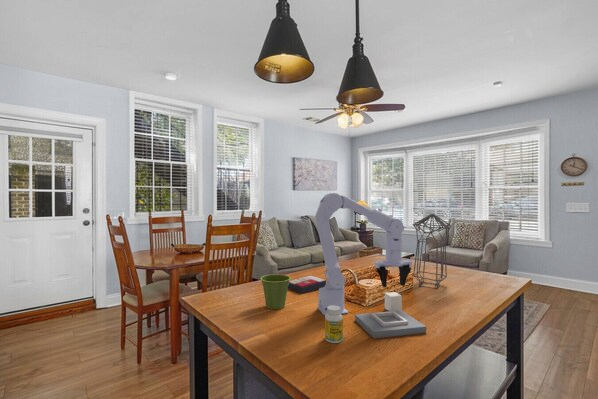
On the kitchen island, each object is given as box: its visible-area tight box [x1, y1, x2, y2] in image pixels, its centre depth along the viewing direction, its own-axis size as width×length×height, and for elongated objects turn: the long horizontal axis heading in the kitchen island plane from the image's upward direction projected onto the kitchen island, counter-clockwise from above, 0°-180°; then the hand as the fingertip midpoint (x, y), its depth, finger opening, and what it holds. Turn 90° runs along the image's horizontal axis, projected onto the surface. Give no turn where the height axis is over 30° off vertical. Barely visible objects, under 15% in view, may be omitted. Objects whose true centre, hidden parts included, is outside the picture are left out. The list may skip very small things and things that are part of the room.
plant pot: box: [259, 273, 292, 311], centre depth 119 cm, size 12×12×11 cm
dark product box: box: [288, 275, 327, 294], centre depth 144 cm, size 11×4×15 cm
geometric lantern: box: [412, 213, 452, 290], centre depth 148 cm, size 16×16×35 cm
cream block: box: [384, 291, 403, 312], centre depth 116 cm, size 4×4×6 cm
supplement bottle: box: [324, 305, 344, 344], centre depth 92 cm, size 5×5×10 cm
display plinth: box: [354, 309, 427, 339], centre depth 101 cm, size 18×14×3 cm
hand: (393, 285), depth 116 cm, fingers open, 7 cm apart
